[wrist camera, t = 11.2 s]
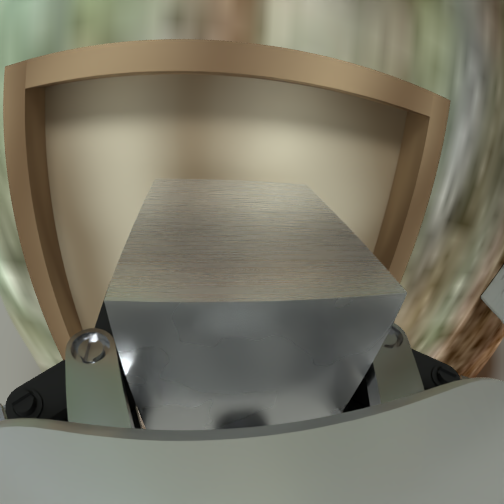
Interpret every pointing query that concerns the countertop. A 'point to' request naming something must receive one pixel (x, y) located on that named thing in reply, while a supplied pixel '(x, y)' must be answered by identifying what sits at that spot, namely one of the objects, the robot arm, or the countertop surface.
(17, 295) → the countertop surface
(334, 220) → the block
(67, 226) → the tray
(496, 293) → the supplement box
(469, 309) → the countertop surface
